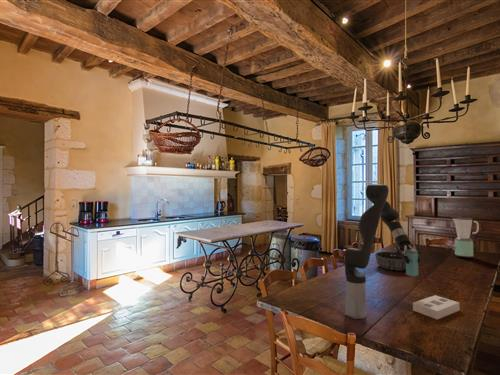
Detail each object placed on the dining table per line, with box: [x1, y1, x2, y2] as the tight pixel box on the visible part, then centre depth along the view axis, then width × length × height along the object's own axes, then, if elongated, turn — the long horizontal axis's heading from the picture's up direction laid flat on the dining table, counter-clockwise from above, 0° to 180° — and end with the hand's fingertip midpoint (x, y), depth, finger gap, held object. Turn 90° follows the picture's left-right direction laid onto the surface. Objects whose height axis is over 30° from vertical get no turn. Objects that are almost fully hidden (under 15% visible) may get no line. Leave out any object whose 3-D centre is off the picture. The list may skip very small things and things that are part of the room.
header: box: [412, 294, 460, 320], centre depth 151 cm, size 20×12×4 cm, turn 119°
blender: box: [451, 216, 480, 260], centre depth 257 cm, size 19×13×35 cm
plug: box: [405, 249, 419, 277], centre depth 165 cm, size 4×4×14 cm
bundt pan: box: [374, 251, 406, 272], centre depth 229 cm, size 26×26×10 cm
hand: (413, 262), depth 164 cm, fingers closed on plug, 5 cm apart
